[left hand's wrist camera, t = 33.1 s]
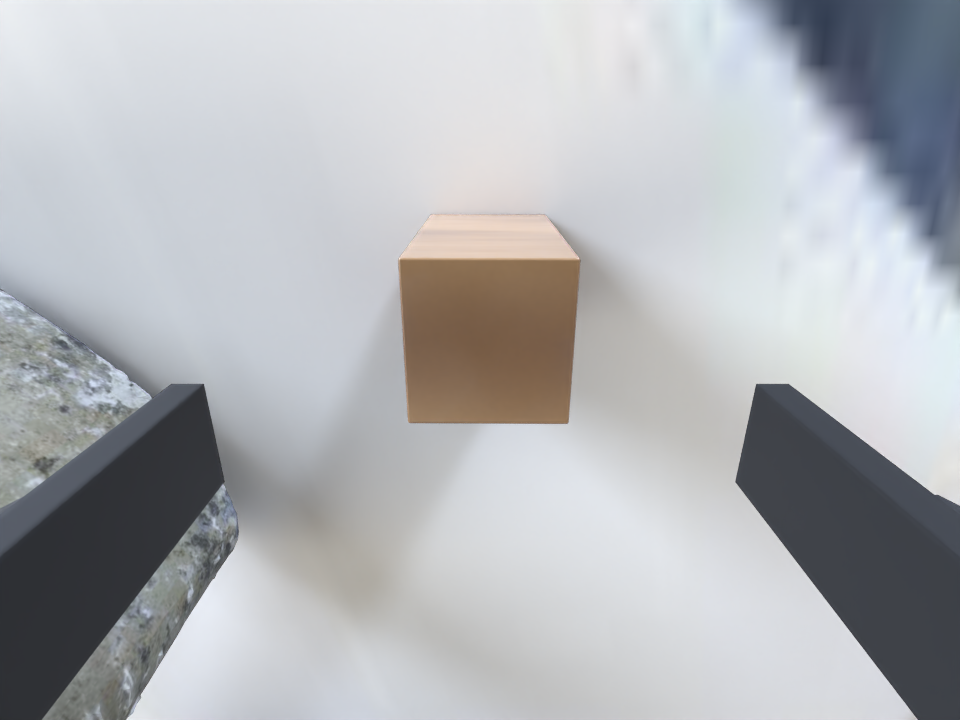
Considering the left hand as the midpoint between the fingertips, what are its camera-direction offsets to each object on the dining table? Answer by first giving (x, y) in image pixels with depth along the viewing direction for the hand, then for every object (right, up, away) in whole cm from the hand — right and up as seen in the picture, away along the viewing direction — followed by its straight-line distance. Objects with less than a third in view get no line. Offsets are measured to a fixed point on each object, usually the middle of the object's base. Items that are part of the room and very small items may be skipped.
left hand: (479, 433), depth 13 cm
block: (0, +6, +14) cm, 15 cm away
